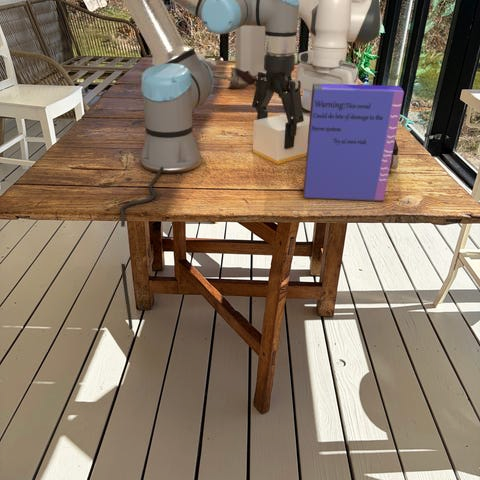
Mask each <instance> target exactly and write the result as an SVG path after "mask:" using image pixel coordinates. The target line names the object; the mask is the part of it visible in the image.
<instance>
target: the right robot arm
mask: <svg viewBox="0 0 480 480" xmlns="http://www.w3.org/2000/svg"><path fill="white" fill-rule="evenodd" d="M298 17H300V18H301V19H302V20H303V22H304V23H305V24H306V26H307V29H308V30H309V33H310V37H311V49H310V50H306V51H304V52H303V51H302V52H300V53H299V54H298V55H297V56H298V58H297V60H298V64H297V68H296V75H295V76H296V77H295V81H298V80H299V81H300V82H301V86H300V90H302V95H301V102H302V109H304V110H306V111H309V112H310V109H311V98H312V87H313V84H348V85H359V69H358V66H356V64H355V63H353V62H348V61H347V54H348V53H347V52H348V45H349V44H348V43H354V44H362V45H367V44H369V43H371V42H372V41H374V40H375V39H376V38H377V37H378V36H379V35H380V32H381V28H382V13H381V5H380V0H299V10H298Z"/></svg>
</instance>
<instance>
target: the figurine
mask: <svg viewBox="0 0 480 480" xmlns="http://www.w3.org/2000/svg"><path fill="white" fill-rule="evenodd" d="M230 69H231V72H230V73H231V74H230V76H229V75H225V74H213V77H214V79H215V78H216V79H223V80H227V81H229V84H228V88H229V89H241V88H247V87H249V86H255V87H256V86H257V82H258V76H252V75H251V73H250V72H249V71H245V72H244V71H242V70H240V69H237V68H235V67H232V66H231V67H230Z"/></svg>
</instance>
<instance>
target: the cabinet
mask: <svg viewBox="0 0 480 480" xmlns="http://www.w3.org/2000/svg"><path fill="white" fill-rule="evenodd" d="M298 118H299V117H298ZM303 118H304V121H303V122H300V123H297V129H296V136H295V138H294V147H291V148H288V149H285V148H284V141H285V125H286V123H287V122H288V120H287V117H286V113H282V114H277V115H273V116H268V118H263V119H259V120H257V119H255V120H253V133H252V153H253V154H256V155H258V156H260V157H261V158H264V159H266V160H269V161H270V162H272V163H274V164H275V165H276V164H277V165H279V164H282V163H285V162H289V161H292V160H297V159H299V158H304V157H306V153H307V142H308V131H309V120H310V117H307V116H304V115H303ZM292 119H293V117H292Z"/></svg>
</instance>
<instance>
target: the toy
mask: <svg viewBox="0 0 480 480" xmlns="http://www.w3.org/2000/svg"><path fill="white" fill-rule="evenodd" d="M195 53H196V55H197V57H198V59H200V60H201V61H203V62H205V63H207V64H208V63H210V64H211V65H212V66H214V67H217V64H218V63H217V62H216V60H214V59H212V58H210V57H209V58H206V56H205V55H204V54H202V53H200V51H198V50H197V51H195ZM151 61H152V63H151V65H152V66H155V62H156V61H155V58H154V56H153V55H152V59H151Z"/></svg>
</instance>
